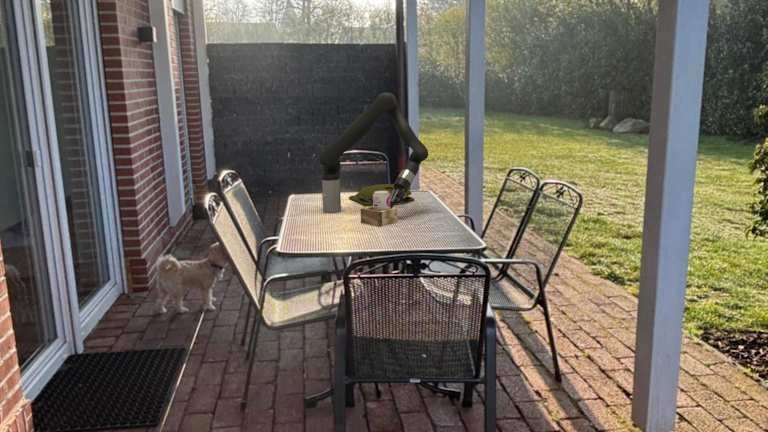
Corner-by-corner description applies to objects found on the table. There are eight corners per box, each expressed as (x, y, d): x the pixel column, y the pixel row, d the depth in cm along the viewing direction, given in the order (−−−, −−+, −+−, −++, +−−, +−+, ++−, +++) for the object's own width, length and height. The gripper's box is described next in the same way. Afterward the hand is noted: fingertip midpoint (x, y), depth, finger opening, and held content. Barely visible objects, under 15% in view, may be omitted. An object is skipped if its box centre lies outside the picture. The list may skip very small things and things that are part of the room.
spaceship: (347, 199, 385) (346, 183, 383) (395, 194, 396) (395, 178, 394) (369, 209, 353) (368, 191, 351) (420, 203, 365) (420, 186, 363)
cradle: (378, 219, 325) (377, 205, 324) (397, 222, 316) (396, 208, 315) (361, 223, 318) (360, 208, 316) (380, 226, 308) (379, 212, 307)
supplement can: (392, 220, 320) (391, 190, 317) (388, 224, 313) (387, 193, 310) (376, 220, 323) (375, 190, 320) (371, 223, 315) (370, 193, 312)
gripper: (391, 175, 328) (374, 203, 322) (410, 177, 319) (393, 206, 313) (398, 184, 333) (382, 211, 327) (418, 186, 323) (401, 214, 317)
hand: (388, 208), depth 320 cm, fingers closed
